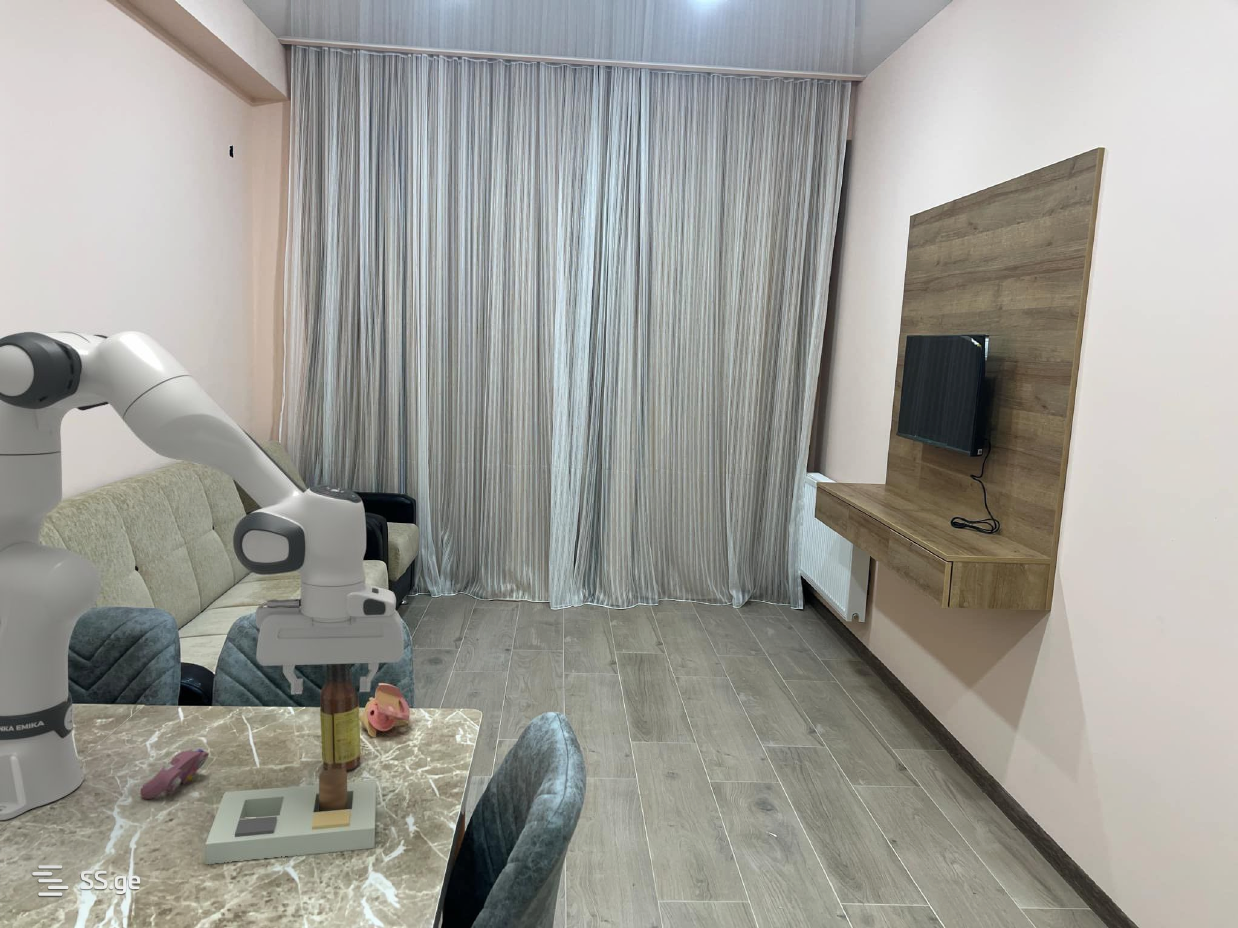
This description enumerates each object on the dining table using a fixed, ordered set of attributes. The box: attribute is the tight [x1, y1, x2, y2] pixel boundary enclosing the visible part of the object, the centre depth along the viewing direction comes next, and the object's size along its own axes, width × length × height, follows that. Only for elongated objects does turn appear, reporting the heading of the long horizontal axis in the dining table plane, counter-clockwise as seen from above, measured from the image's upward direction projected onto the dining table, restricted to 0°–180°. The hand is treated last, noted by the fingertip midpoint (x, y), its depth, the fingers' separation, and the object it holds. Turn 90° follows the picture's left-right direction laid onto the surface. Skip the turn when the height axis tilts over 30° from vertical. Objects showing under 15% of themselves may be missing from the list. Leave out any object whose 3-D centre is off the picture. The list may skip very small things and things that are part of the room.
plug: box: [318, 769, 348, 812], centre depth 129 cm, size 4×4×7 cm
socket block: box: [204, 779, 377, 866], centre depth 126 cm, size 22×14×4 cm, turn 105°
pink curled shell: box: [359, 682, 411, 738], centre depth 160 cm, size 9×10×10 cm
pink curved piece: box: [139, 746, 209, 800], centre depth 136 cm, size 10×5×7 cm, turn 170°
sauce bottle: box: [319, 663, 362, 772], centre depth 145 cm, size 6×6×20 cm
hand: (331, 691), depth 126 cm, fingers open, 8 cm apart
